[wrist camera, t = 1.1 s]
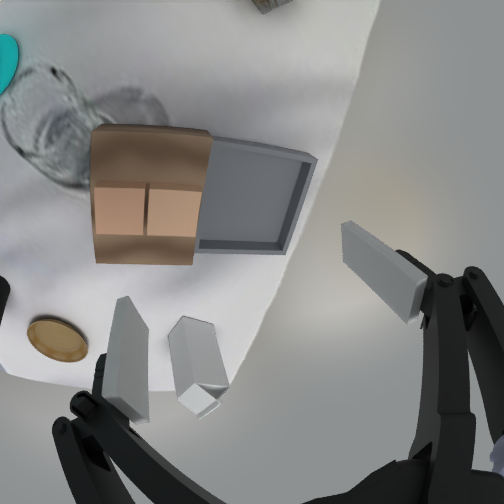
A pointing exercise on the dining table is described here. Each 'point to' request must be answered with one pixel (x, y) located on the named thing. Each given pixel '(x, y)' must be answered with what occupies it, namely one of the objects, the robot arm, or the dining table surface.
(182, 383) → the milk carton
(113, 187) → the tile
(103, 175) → the brown wooden board
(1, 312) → the drinking cup
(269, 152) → the tray
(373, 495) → the robot arm
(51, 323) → the plant saucer
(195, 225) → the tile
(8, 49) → the donuts
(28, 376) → the dining table surface
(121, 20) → the dining table surface
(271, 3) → the coffee box
